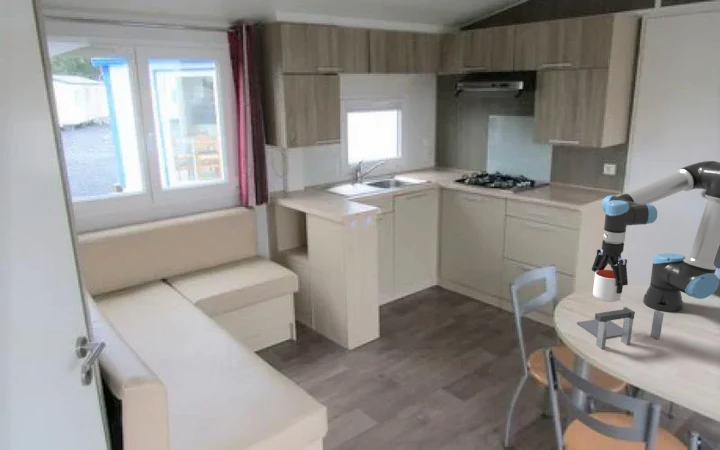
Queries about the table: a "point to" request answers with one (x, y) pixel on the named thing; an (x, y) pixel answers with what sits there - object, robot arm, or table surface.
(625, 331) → the posts
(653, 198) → the robot arm
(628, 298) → the table surface
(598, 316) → the bar
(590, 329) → the mat
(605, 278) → the cup
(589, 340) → the table surface
